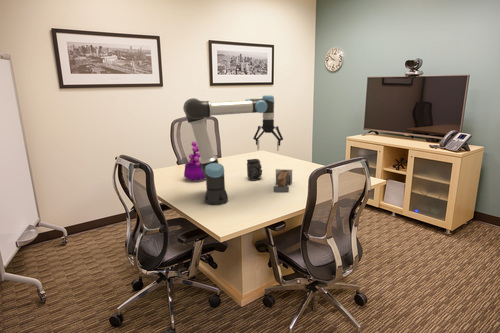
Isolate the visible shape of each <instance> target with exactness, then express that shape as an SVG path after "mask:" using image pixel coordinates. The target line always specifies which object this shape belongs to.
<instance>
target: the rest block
mask: <svg viewBox="0 0 500 333" xmlns="http://www.w3.org/2000/svg"><path fill="white" fill-rule="evenodd" d="M272 188H273V193H289V192H290V185H285V186H284V187H282V186H278V185H274V186H273V187H272Z"/></svg>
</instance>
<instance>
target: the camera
mask: <svg viewBox="0 0 500 333" xmlns="http://www.w3.org/2000/svg"><path fill="white" fill-rule="evenodd" d="M246 161H247V162H246V168H247V169H246V170H247V171H246V174H247V175H246V176H247V178H248V180H249V181H255V180H256V181H258V180H260V178H261V177H262V176H263V169H262V168H263V167H262V164H261V160H260V159H258V158H252V159H247V160H246Z"/></svg>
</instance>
